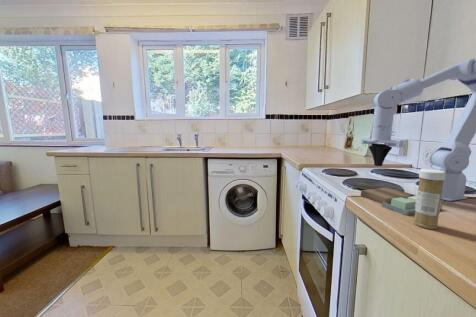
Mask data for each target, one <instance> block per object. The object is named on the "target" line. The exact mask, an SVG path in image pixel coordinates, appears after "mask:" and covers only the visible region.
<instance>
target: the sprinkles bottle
mask: <svg viewBox="0 0 476 317" xmlns="http://www.w3.org/2000/svg"><path fill="white" fill-rule="evenodd" d="M418 173H419V174H418V177H419V178H418V179H419V180H418V188H417V194H416V196H417V200H416V208H415V214H414V218H413V224H414V225H416V226H418V227H421V228H422V229H429V230H435V229H438V228H439V227H438V226H439V225H438V223H439V216H440V206H441V204H442V199H441V196H442V188H443V182H444V180H445V174H446V173H445V172H444V171H440V170H434V169H432V168H420V169H419V172H418Z"/></svg>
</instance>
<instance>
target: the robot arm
mask: <svg viewBox="0 0 476 317" xmlns="http://www.w3.org/2000/svg"><path fill="white" fill-rule="evenodd" d="M448 80H452V81H455V80H457V81H458V82H460V83H461V84H463V85H464V86H465V87H467V89H469V91H471V93H472V94H471V96H470V98H469V99H468V101H467V103H466V104H465V106H464V108H463V110H462V112H461V113H460V115H459V117H458V119H457V121H456V123H455V124H454V126H453V128H452V130H451V132H450V133H449V135H448V137H447V139H446V140H444V141H443V142H442V143H440V144H439V146H438V147H437V149H435V150H434V151H433V152H432V153H430V155H429V161H430V163H431V165H432V168H431V169H434V170H440V171H444V172H445V173H446V174H445V180H444V182H443V188H442V196H441V200H444V201H447V202H453V201H458V200H466V199H468V196H466V195H465V191H466V186H467V177H466V175H465V173H463V171H464V170H466V169H467V168H468V166H469V164H470V157H471V155H472V150H471V148H470V143H471V142H472V140H473V139H474V137H475V135H476V57H475V58H471V59H467V60H465V61H461V62H458V63H456V64H453V65H451V66H448V67H446V68H444V69H442V70H439V71H437V72H435V73H432V74H430V75H428V76H426V77H423V78H422V79H416V78H411V79H410V78H407V79H405V80H403V81H402V83H400V84H398V85H396V86H390V87H387V89H386V90H384V91H381V92H379V93H377V94H376V96H374V98H373V100H372V104H373V105H372V106H374V112H373V113H374V114H373V118H372V119H373V120H372V122H373V123H372V131H371V138H366V137H365V138H361V139H360V145H361V144H363V145H369V146H368V149H369V151H370V152H371V155H372V160H373V165H374V166H375V167H382V166H383V164H384V161H385V159H386V157H387V156H388V154H389V153H390V151H391V150H392V148H393V147H395V148H404V145H405V141H404V140H395V139H392V132H393V125H394V124H393V123H394V115H395V114H394V112H395V106H396V105H397V104H401V103H403V102H406V101H408V100H410V99H412V98H416V97H417V96H420V95H421V94H422V92H424V91H423V90H424V89H427V88H429V87H432V86H434V85H437V84H440V83H442V82H445V81H448ZM464 195H465V196H464Z"/></svg>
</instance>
